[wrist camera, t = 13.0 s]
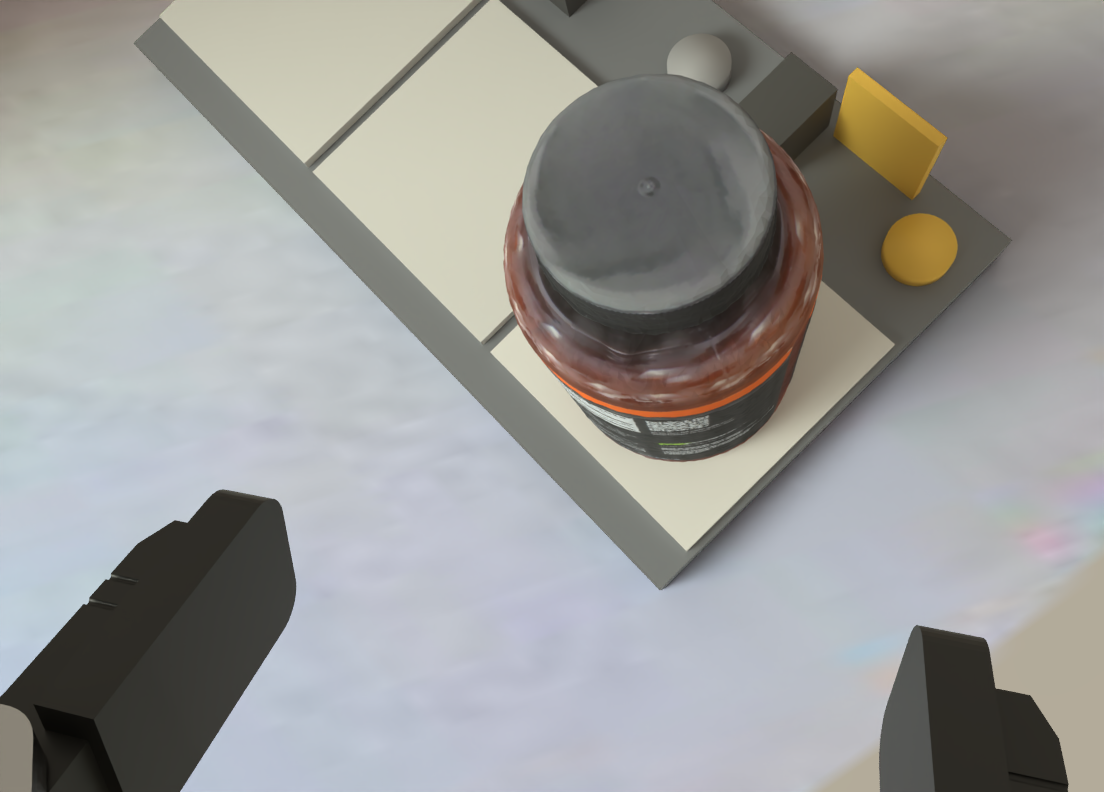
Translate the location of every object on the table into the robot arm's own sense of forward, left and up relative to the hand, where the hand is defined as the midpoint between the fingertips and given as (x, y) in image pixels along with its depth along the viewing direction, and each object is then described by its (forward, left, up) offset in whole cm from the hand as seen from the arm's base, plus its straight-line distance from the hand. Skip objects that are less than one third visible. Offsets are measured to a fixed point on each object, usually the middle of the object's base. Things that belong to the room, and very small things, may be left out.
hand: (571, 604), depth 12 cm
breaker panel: (-12, +7, -14) cm, 20 cm away
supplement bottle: (-4, +5, -13) cm, 15 cm away
